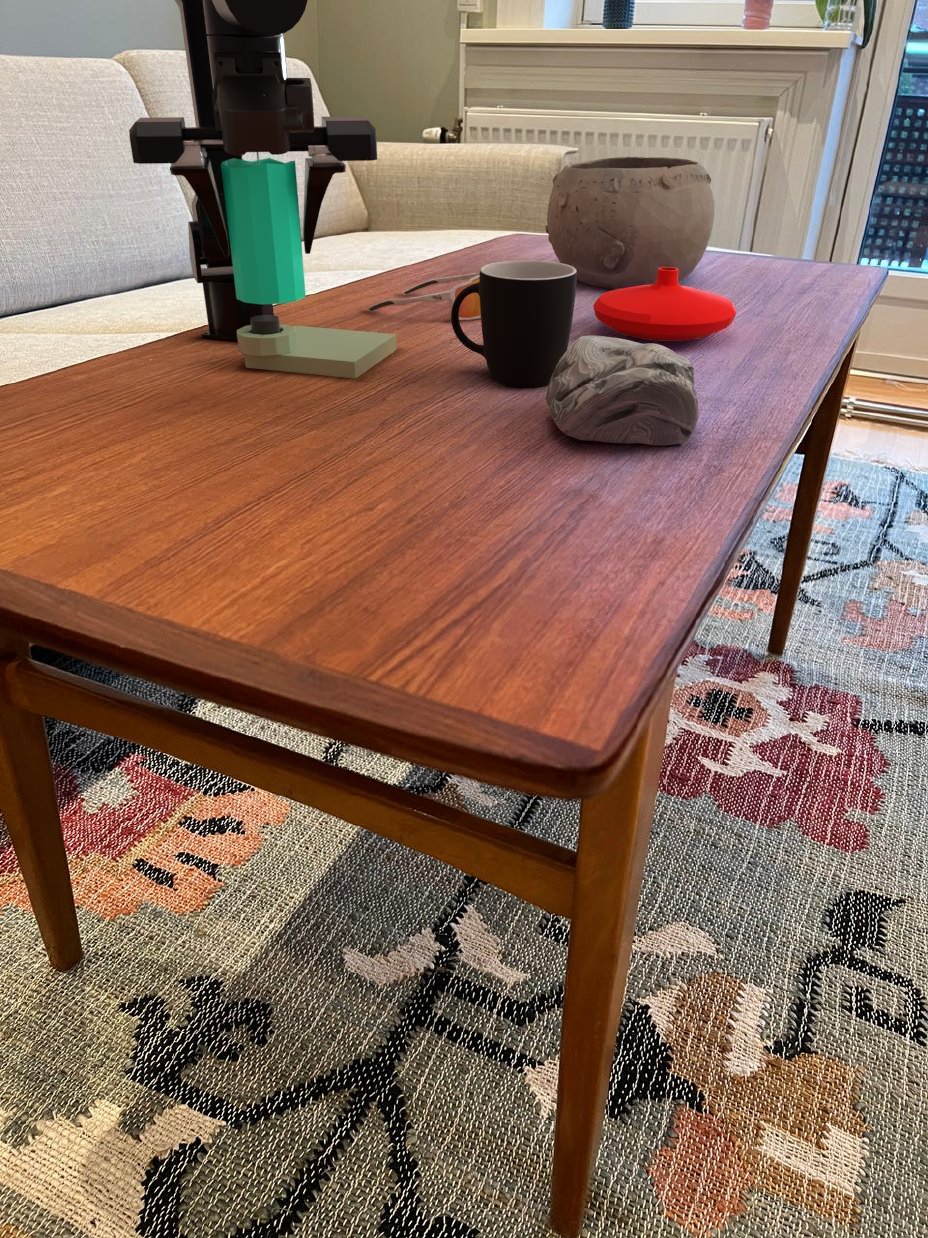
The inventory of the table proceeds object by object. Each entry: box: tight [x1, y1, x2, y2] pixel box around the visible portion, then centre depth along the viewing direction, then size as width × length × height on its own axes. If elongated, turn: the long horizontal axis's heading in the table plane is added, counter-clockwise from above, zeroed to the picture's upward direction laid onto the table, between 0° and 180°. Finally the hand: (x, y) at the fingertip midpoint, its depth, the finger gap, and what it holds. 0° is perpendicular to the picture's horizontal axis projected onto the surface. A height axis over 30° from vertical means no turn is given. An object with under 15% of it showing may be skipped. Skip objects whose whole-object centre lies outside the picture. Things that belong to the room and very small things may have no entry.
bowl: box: [544, 156, 716, 289], centre depth 128 cm, size 23×23×15 cm
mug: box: [450, 259, 578, 388], centre depth 88 cm, size 12×9×10 cm
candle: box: [221, 152, 306, 305], centre depth 77 cm, size 6×6×12 cm
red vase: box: [592, 267, 737, 342], centre depth 103 cm, size 16×16×7 cm
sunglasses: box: [367, 271, 481, 321], centre depth 115 cm, size 14×15×5 cm
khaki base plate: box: [237, 323, 398, 379], centre depth 95 cm, size 13×12×4 cm
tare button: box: [250, 314, 281, 335], centre depth 92 cm, size 3×3×2 cm
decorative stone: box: [545, 335, 700, 446], centre depth 76 cm, size 15×14×10 cm
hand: (267, 254), depth 78 cm, fingers closed on candle, 6 cm apart
